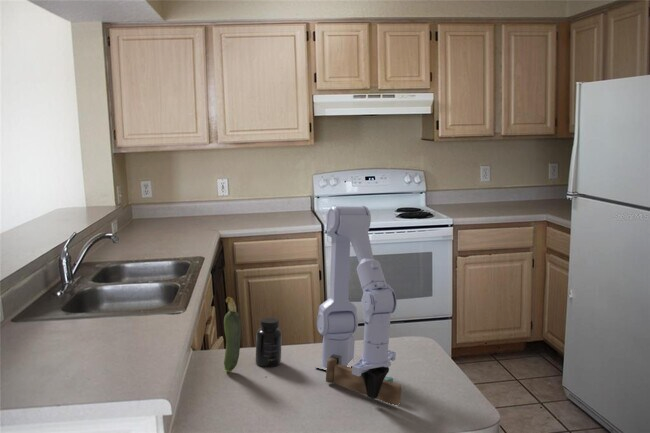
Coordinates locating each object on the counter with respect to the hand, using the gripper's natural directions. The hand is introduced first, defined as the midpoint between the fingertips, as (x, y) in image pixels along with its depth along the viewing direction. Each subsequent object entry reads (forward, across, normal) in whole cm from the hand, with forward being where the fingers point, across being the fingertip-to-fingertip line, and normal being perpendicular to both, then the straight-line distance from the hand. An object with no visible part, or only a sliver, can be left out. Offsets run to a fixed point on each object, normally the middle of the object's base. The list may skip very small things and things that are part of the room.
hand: (372, 396), depth 135 cm
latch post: (+2, +6, -1) cm, 6 cm away
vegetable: (+2, -12, +36) cm, 38 cm away
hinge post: (+2, +4, +14) cm, 15 cm away
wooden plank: (+1, +2, +5) cm, 5 cm away
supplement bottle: (+2, 0, +34) cm, 34 cm away
